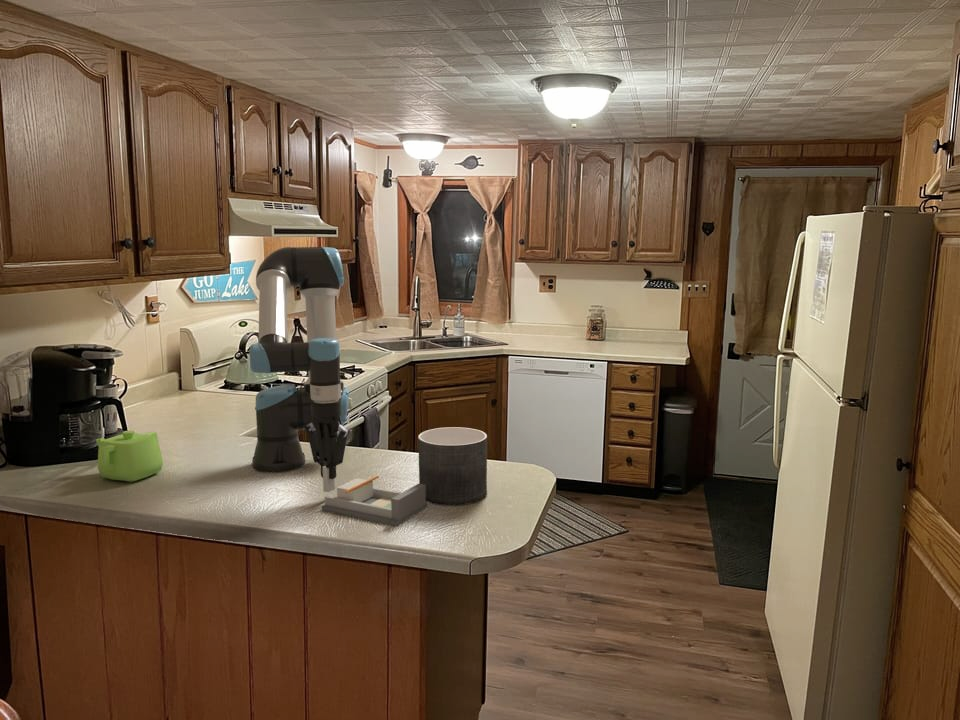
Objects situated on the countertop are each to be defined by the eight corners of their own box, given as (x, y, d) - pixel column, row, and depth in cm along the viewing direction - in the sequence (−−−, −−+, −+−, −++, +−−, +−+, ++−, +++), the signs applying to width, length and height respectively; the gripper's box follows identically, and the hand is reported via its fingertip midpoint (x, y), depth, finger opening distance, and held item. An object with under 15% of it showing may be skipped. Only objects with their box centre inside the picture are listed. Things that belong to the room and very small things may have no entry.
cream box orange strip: (327, 505, 178) (327, 487, 177) (359, 489, 189) (359, 472, 188) (347, 509, 175) (347, 491, 174) (379, 493, 186) (378, 476, 186)
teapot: (71, 482, 199) (67, 436, 197) (129, 462, 218) (125, 420, 215) (123, 490, 193) (119, 443, 191) (177, 468, 211) (174, 425, 209)
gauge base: (321, 510, 178) (321, 486, 177) (356, 492, 191) (355, 470, 190) (396, 526, 168) (396, 501, 167) (427, 506, 181) (427, 483, 180)
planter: (437, 479, 201) (436, 424, 199) (497, 487, 195) (497, 431, 192) (406, 500, 185) (405, 440, 183) (470, 510, 178) (470, 448, 176)
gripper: (295, 400, 181) (299, 490, 185) (337, 405, 175) (340, 498, 179) (315, 394, 188) (318, 482, 192) (356, 399, 182) (358, 489, 186)
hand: (329, 490), depth 185 cm, fingers closed
